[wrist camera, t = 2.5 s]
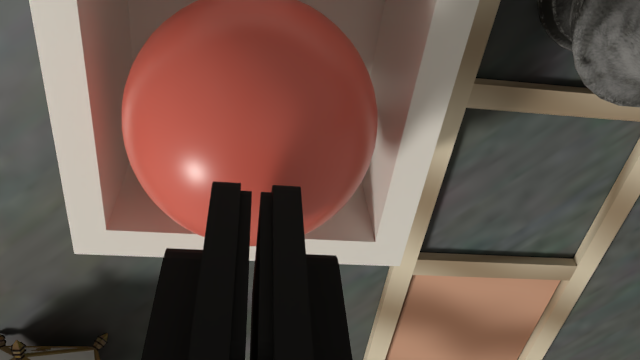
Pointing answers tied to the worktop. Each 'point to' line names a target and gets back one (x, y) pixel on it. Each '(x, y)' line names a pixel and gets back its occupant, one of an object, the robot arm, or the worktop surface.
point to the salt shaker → (599, 43)
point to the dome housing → (157, 227)
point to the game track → (489, 270)
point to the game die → (50, 351)
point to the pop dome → (249, 109)
